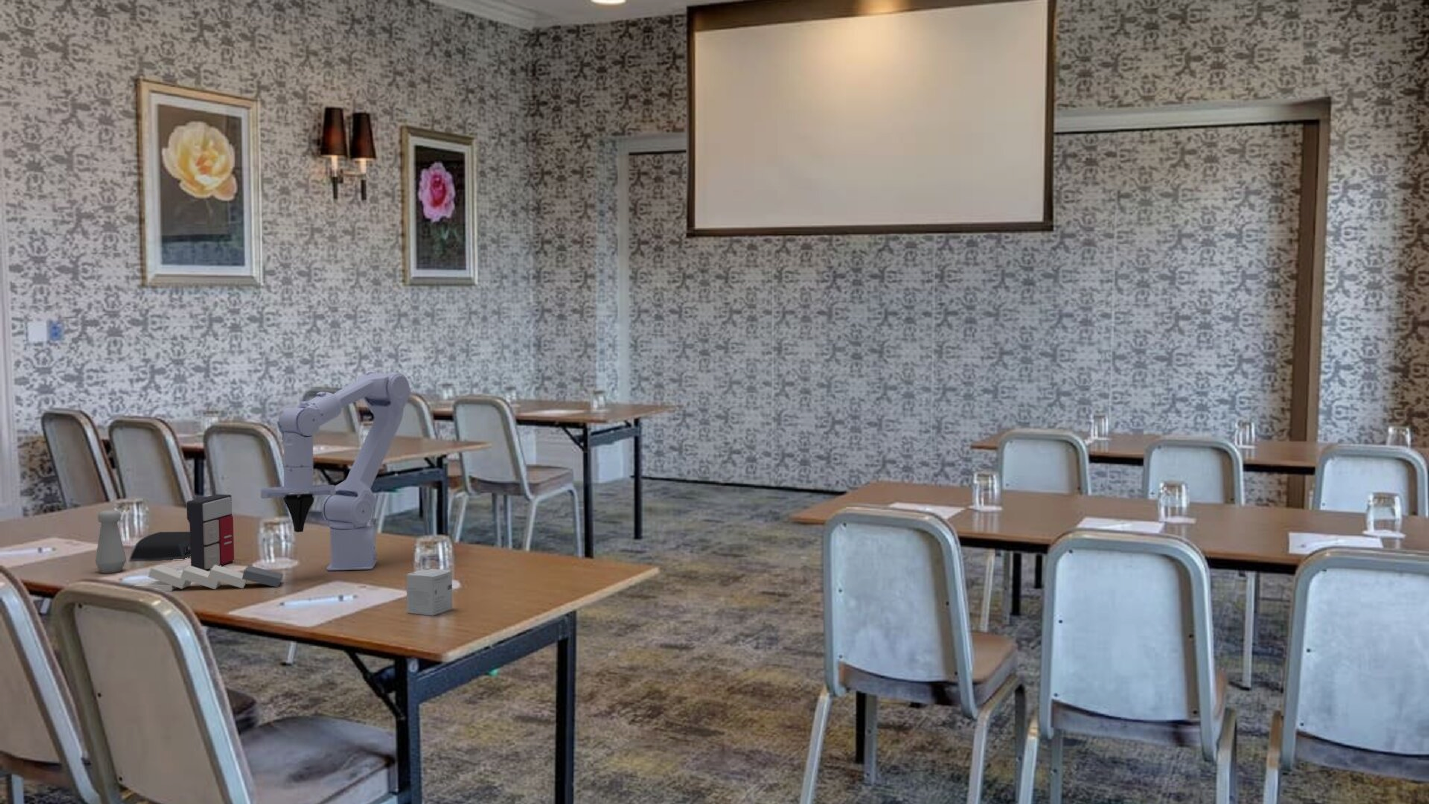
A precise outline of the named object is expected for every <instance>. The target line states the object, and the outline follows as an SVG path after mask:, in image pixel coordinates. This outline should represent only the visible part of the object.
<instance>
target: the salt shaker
mask: <svg viewBox="0 0 1429 804" xmlns="http://www.w3.org/2000/svg"><path fill="white" fill-rule="evenodd" d="M121 517H122V515H121V512H120V511H119V510H117V509H116V510H115V509H107V510H102V511H100V512H99V513H98V514H97V521H98V523H100V529H99V536H98V543H97V548H96V553H95V554H96V555H95V564H96V566H97V569H98V570H99V572H100V573H102V574H115V573H119V572H122V570H123V567H124V566H125V564H126V562H127V556H126V552H125V548H124V545H123V541H122V537H121V533H120V528H119V524H118V522H120V521H121Z"/></svg>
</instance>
